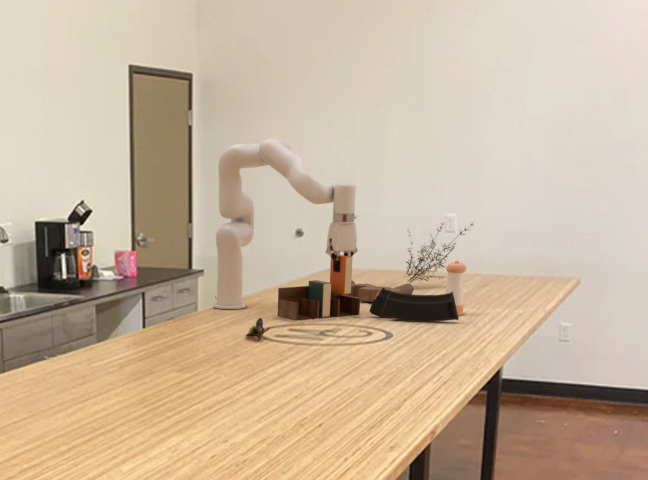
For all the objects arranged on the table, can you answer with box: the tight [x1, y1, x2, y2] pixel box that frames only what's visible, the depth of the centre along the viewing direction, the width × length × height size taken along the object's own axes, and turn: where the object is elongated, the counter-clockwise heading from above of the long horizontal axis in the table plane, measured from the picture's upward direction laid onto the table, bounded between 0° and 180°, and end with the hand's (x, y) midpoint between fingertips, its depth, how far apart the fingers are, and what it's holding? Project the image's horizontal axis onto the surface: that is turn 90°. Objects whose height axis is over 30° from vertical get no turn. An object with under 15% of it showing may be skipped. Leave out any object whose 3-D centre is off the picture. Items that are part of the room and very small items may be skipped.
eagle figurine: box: [245, 317, 271, 342], centre depth 341 cm, size 8×7×9 cm
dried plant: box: [404, 220, 475, 284], centre depth 466 cm, size 30×31×45 cm
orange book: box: [329, 254, 353, 294], centre depth 382 cm, size 9×3×13 cm, turn 26°
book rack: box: [277, 285, 361, 322], centre depth 382 cm, size 12×27×11 cm, turn 116°
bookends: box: [342, 279, 414, 303], centre depth 432 cm, size 35×6×29 cm
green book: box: [308, 279, 331, 317], centre depth 381 cm, size 9×4×12 cm, turn 26°
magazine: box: [369, 288, 460, 323], centre depth 373 cm, size 17×3×30 cm
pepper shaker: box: [444, 260, 467, 316], centre depth 387 cm, size 7×7×19 cm
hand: (340, 271), depth 382 cm, fingers closed on orange book, 3 cm apart
